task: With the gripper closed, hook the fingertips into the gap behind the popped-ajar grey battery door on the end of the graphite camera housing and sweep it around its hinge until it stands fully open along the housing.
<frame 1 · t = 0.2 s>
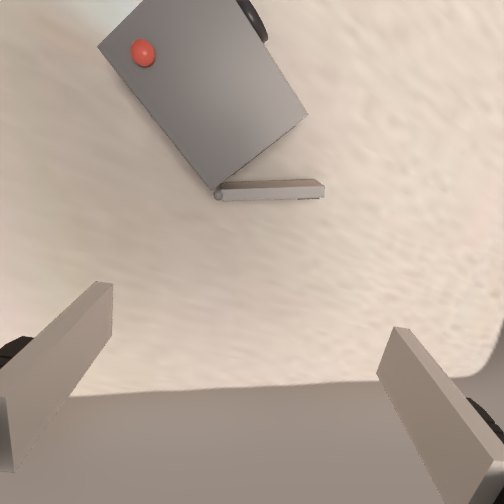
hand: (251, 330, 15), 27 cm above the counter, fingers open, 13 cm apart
housing: (214, 91, 36), on the counter
door: (267, 191, 36), point 3 cm above the counter, hinge at 35.0°
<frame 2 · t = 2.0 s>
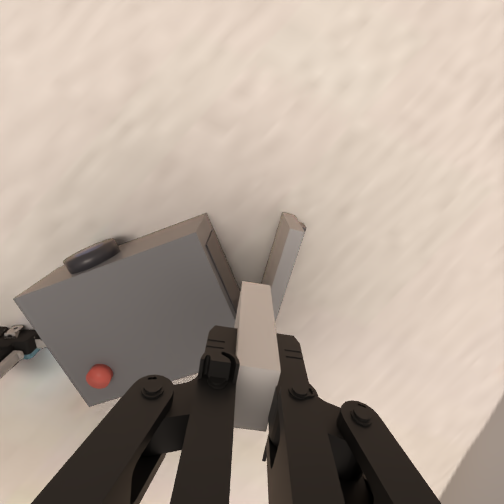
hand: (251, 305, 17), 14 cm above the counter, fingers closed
housing: (157, 293, 33), on the counter
door: (276, 281, 29), point 3 cm above the counter, hinge at 35.0°
push button: (30, 335, 35), on the counter
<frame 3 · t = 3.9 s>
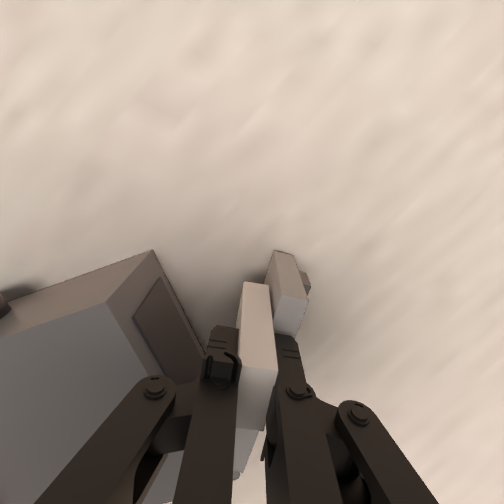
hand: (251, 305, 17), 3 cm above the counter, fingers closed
housing: (87, 363, 22), on the counter
door: (261, 363, 18), point 3 cm above the counter, hinge at 36.0°, touching gripper
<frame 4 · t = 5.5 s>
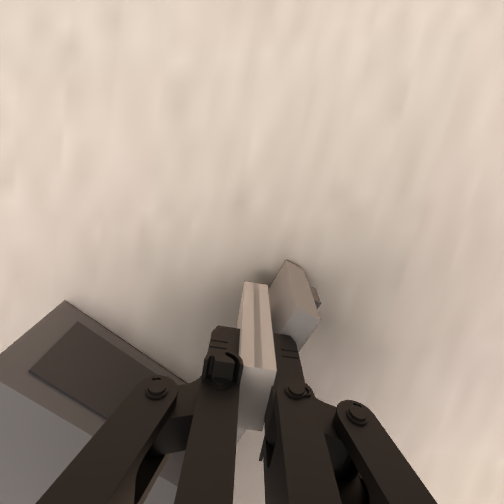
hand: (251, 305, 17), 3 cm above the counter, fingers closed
housing: (81, 419, 24), on the counter
door: (252, 369, 18), point 3 cm above the counter, hinge at 76.0°, touching gripper
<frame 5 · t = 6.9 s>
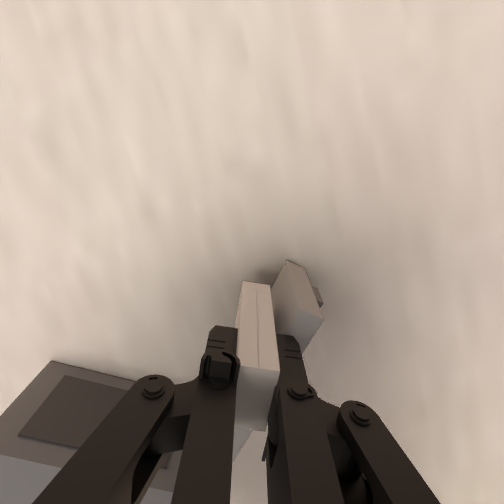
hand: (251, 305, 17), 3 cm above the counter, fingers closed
housing: (118, 460, 25), on the counter
door: (256, 370, 18), point 3 cm above the counter, hinge at 98.0°, touching gripper
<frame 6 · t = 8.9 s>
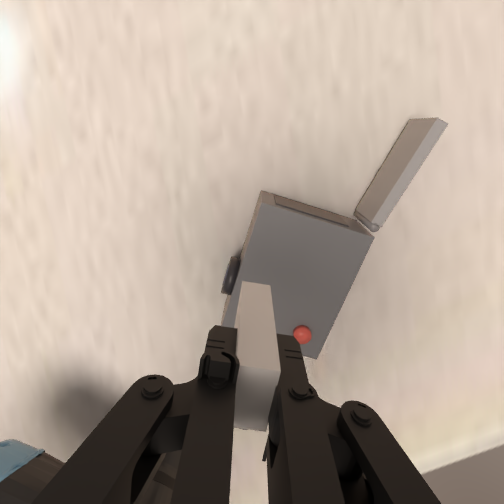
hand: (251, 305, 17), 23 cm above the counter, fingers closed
housing: (286, 264, 41), on the counter
door: (395, 176, 33), point 3 cm above the counter, hinge at 98.1°
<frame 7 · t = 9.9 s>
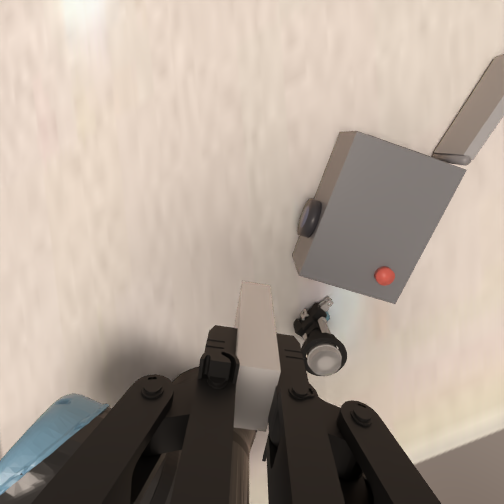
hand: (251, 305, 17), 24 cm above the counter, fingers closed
housing: (358, 212, 40), on the counter
door: (483, 112, 33), point 3 cm above the counter, hinge at 98.1°
push button: (313, 312, 45), on the counter
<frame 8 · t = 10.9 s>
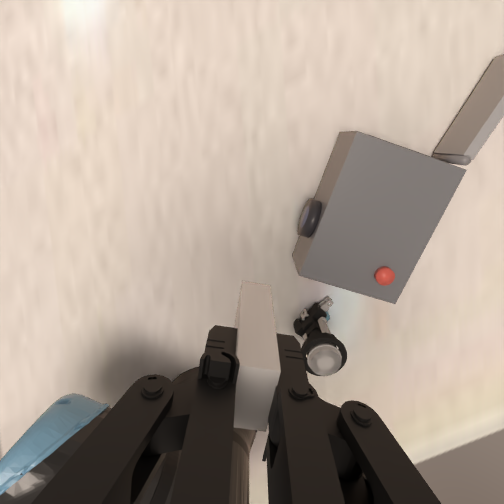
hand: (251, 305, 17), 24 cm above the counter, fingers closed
housing: (358, 212, 40), on the counter
door: (483, 112, 33), point 3 cm above the counter, hinge at 98.1°
push button: (313, 312, 45), on the counter
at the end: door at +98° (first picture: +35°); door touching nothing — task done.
